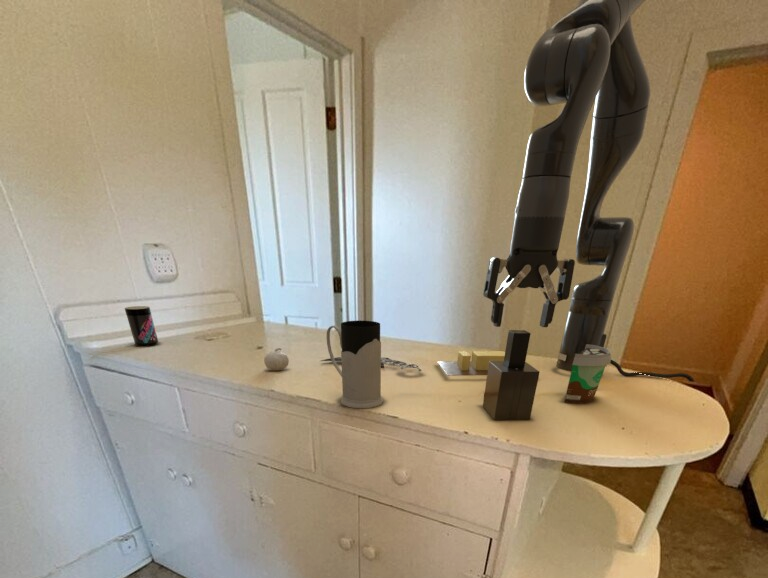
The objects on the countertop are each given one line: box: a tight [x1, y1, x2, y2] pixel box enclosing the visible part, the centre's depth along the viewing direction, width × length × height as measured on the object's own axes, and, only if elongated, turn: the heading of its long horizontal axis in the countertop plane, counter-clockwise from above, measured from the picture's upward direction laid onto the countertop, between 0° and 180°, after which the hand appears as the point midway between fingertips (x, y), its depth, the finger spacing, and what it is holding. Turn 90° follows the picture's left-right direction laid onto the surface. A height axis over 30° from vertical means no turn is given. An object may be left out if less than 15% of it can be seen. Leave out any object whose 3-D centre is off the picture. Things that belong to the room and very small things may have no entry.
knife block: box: [482, 361, 541, 421], centre depth 81 cm, size 7×8×9 cm
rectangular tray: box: [437, 360, 488, 377], centre depth 109 cm, size 22×14×1 cm, turn 94°
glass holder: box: [326, 320, 384, 409], centre depth 86 cm, size 9×14×15 cm, turn 47°
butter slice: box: [456, 350, 472, 370], centre depth 107 cm, size 2×5×4 cm, turn 4°
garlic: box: [263, 347, 290, 372], centre depth 108 cm, size 6×5×5 cm
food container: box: [563, 344, 612, 404], centre depth 89 cm, size 12×6×10 cm, turn 148°
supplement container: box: [124, 305, 159, 348], centre depth 129 cm, size 7×7×10 cm
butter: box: [470, 350, 505, 370], centre depth 108 cm, size 10×5×4 cm, turn 94°
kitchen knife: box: [503, 329, 532, 370], centre depth 80 cm, size 3×4×15 cm
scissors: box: [320, 356, 423, 372], centre depth 112 cm, size 28×2×10 cm
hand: (520, 326), depth 75 cm, fingers open, 8 cm apart
